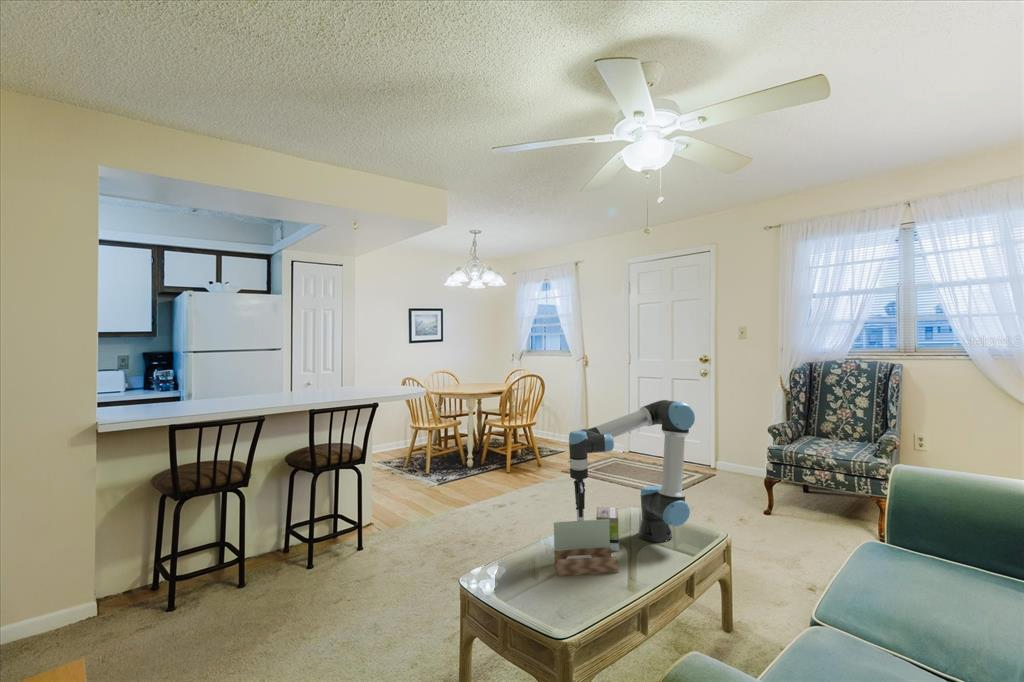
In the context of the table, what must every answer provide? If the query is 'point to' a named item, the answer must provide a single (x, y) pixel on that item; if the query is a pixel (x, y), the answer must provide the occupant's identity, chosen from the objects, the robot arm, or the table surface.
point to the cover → (581, 534)
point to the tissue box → (585, 561)
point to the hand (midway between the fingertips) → (580, 523)
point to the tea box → (614, 525)
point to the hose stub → (579, 557)
